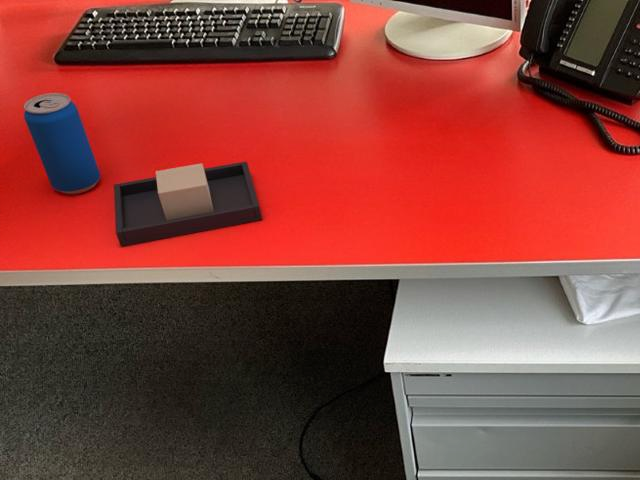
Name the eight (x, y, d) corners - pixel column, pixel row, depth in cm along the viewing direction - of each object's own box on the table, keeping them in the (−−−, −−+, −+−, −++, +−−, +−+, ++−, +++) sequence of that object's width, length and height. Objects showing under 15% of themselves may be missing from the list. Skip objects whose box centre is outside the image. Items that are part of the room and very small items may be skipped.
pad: (166, 220, 115) (157, 193, 112) (163, 197, 119) (155, 171, 116) (213, 211, 116) (206, 184, 113) (209, 189, 120) (202, 162, 118)
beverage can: (75, 170, 126) (45, 88, 118) (112, 177, 124) (84, 95, 116) (42, 192, 122) (8, 109, 114) (80, 200, 120) (48, 116, 112)
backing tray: (120, 246, 111) (115, 232, 110) (118, 198, 120) (113, 184, 119) (262, 220, 116) (259, 205, 114) (250, 174, 124) (246, 161, 123)
